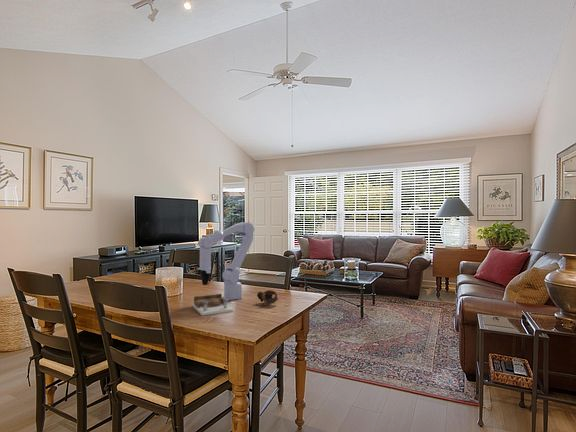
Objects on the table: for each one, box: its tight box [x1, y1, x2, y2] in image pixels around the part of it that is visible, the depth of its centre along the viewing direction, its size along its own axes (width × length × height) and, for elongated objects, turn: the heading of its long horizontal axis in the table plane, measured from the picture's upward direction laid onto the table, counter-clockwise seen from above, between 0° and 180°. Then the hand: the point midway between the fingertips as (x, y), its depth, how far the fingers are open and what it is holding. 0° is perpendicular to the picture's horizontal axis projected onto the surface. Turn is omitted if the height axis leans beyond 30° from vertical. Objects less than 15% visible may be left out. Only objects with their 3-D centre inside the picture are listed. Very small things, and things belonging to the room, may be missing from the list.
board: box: [192, 299, 234, 316], centre depth 168 cm, size 15×18×5 cm
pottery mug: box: [256, 289, 279, 307], centre depth 178 cm, size 12×9×8 cm
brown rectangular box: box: [193, 293, 224, 308], centre depth 171 cm, size 14×9×4 cm, turn 119°
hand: (205, 284), depth 180 cm, fingers closed
